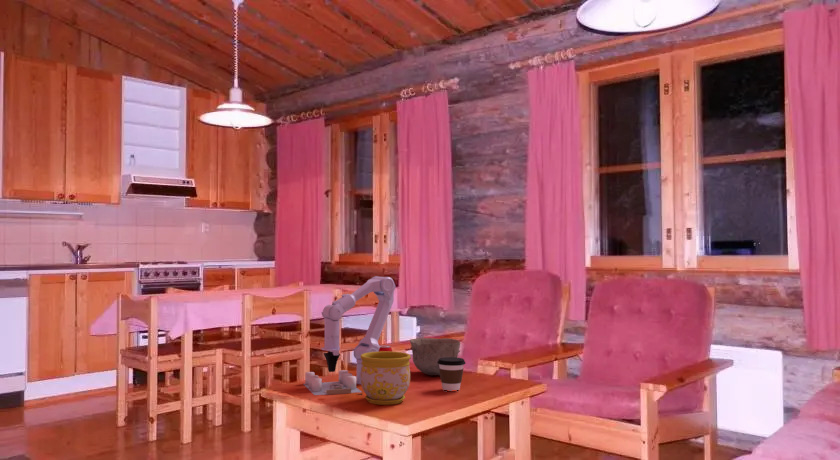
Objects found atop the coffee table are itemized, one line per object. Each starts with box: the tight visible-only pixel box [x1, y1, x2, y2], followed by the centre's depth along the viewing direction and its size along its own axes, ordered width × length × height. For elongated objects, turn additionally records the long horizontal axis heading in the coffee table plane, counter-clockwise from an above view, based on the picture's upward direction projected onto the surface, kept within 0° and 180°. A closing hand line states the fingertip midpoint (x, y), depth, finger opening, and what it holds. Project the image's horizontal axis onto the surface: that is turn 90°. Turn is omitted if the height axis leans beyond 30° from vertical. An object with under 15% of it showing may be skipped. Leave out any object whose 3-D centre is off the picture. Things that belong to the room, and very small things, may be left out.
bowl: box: [409, 337, 461, 376], centre depth 289 cm, size 22×22×15 cm
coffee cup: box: [437, 356, 466, 391], centre depth 257 cm, size 11×11×12 cm
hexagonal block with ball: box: [330, 384, 344, 390], centre depth 247 cm, size 5×5×3 cm
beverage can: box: [378, 344, 393, 352], centre depth 291 cm, size 6×6×12 cm
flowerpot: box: [360, 351, 412, 406], centre depth 237 cm, size 18×18×16 cm
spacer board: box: [303, 369, 363, 396], centre depth 254 cm, size 18×23×6 cm
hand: (331, 371), depth 255 cm, fingers closed
